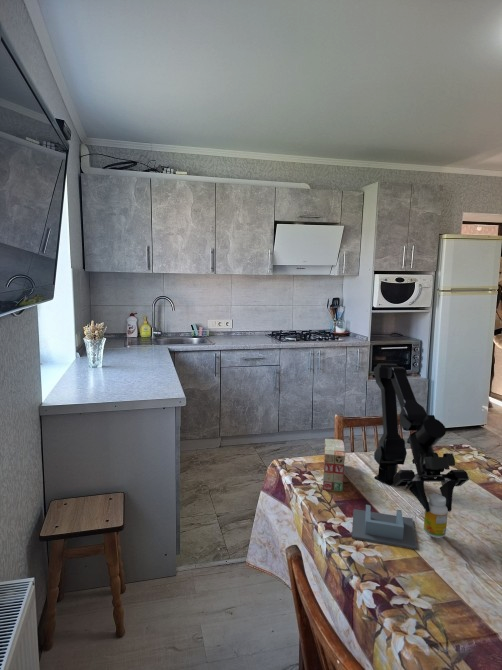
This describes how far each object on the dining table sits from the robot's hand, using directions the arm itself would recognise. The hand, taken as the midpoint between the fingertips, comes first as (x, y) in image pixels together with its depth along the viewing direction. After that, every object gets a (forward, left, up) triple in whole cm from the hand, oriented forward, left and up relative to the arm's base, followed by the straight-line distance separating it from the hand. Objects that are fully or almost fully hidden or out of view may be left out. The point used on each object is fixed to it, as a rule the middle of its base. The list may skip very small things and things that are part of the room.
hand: (439, 511), depth 112 cm
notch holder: (+7, -12, -8) cm, 15 cm away
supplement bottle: (-1, -1, -7) cm, 7 cm away
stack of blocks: (-7, -40, -8) cm, 42 cm away
